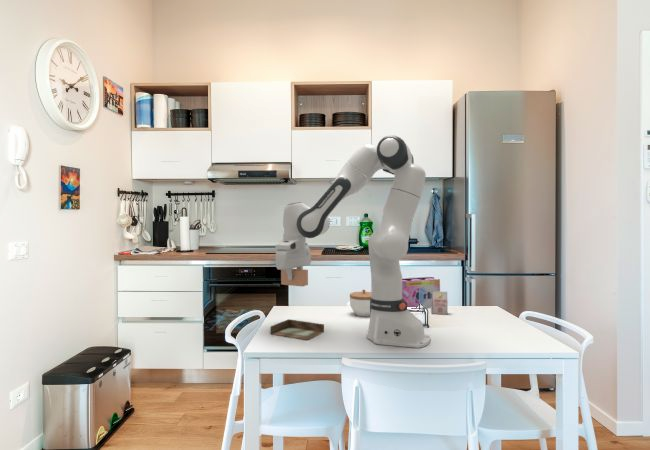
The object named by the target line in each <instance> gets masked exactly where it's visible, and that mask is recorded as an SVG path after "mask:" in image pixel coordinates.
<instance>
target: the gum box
mask: <svg viewBox="0 0 650 450" xmlns="http://www.w3.org/2000/svg"><path fill="white" fill-rule="evenodd" d="M440 281H441V279H440V278H438V279H437V278H435V277H432V276H425V277H411V278H410V277H409V278H407V277H406V278H402V298H403V299H404V300H405V301H406V302H407V301H408V307H416V308H417V307H418V306H419V304H422V305H424V306H425V307H427V308H428V309H429V308H431V296H432V291H439V292H441V282H440ZM427 308H426V309H427Z"/></svg>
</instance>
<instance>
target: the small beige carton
mask: <svg viewBox="0 0 650 450" xmlns="http://www.w3.org/2000/svg"><path fill="white" fill-rule="evenodd" d="M448 303H449V302H448V291H440V292H439V291H432V296H431V309H430V312H431V315H436V316H437V315H438V316H439V315H442V316H447V315H448Z"/></svg>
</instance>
